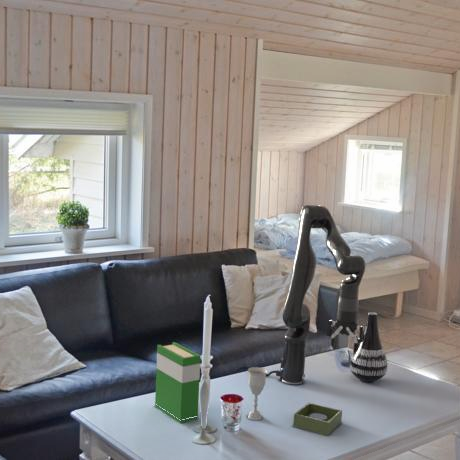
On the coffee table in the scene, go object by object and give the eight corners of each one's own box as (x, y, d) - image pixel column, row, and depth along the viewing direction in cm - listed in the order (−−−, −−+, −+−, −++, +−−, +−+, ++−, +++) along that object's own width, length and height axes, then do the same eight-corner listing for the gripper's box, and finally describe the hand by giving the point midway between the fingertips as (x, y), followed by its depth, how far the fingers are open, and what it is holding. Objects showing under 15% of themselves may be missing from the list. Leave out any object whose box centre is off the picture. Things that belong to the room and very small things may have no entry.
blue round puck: (306, 423, 282) (306, 417, 282) (313, 417, 288) (313, 411, 288) (322, 427, 279) (323, 421, 279) (329, 421, 285) (329, 415, 285)
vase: (389, 388, 325) (395, 319, 320) (350, 385, 325) (356, 317, 321) (383, 375, 341) (388, 309, 336) (346, 372, 341) (351, 307, 336)
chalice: (267, 415, 290) (269, 369, 287) (261, 422, 283) (264, 375, 280) (248, 412, 292) (251, 366, 289) (242, 418, 286) (244, 371, 283)
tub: (293, 426, 281) (293, 414, 280) (307, 414, 293) (308, 402, 292) (327, 435, 275) (328, 422, 274) (341, 422, 287) (342, 410, 286)
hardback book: (155, 406, 293) (157, 344, 289) (171, 402, 297) (174, 342, 293) (180, 423, 279) (183, 358, 275) (197, 419, 283) (200, 355, 279)
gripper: (369, 309, 292) (365, 351, 295) (333, 303, 299) (330, 343, 301) (362, 313, 286) (358, 356, 288) (326, 307, 292) (323, 348, 295)
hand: (344, 349), depth 295 cm, fingers open, 8 cm apart
